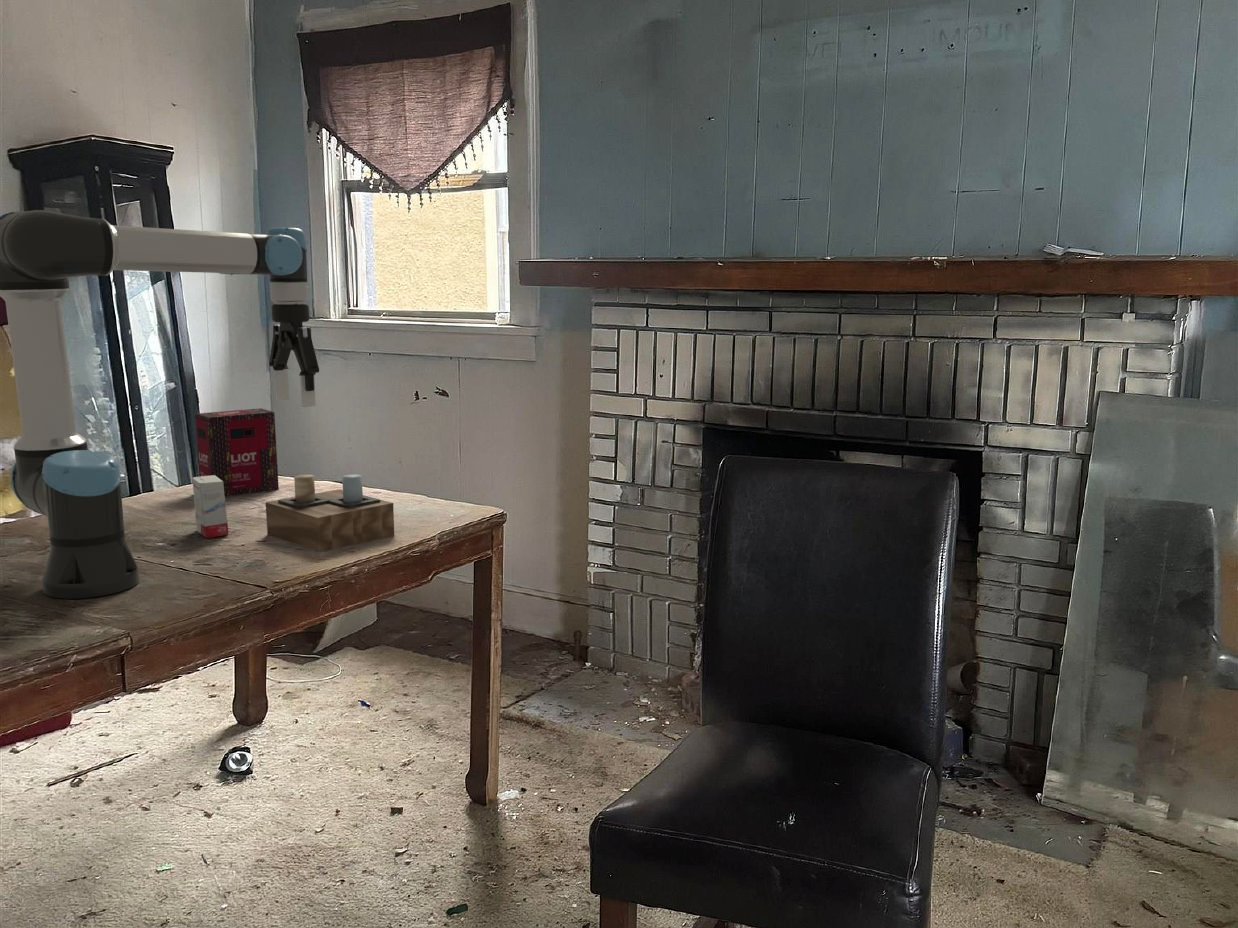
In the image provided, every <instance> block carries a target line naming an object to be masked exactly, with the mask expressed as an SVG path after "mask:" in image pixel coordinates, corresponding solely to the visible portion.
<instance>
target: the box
mask: <svg viewBox="0 0 1238 928" xmlns="http://www.w3.org/2000/svg"><path fill="white" fill-rule="evenodd" d="M194 416H195V417H194V418H195V430H196V431H195V432H196V434H195V435H196V444H197V445H196V447H197V457H198V458H197V459H198V461H197V462H198V470H199V472H198V473H199V476H198V477H201V476H211V475H215V476H217V477H218V478H219V479H220V480H222V481H223V485H224V496H225V498H228V497H235V496H243V495H251V494H258V492H259V493H264V492H263V491H266V492H271V491H272V492H273V491H278V490H279V489H280V488H279V486H280V485H279V470H278V451H277V437H276V419H275V417H276V416H275V411H273V410H269V409H265V408H259V407H258V408H248V409H237V410H222V411H213V412H200V413H194Z"/></svg>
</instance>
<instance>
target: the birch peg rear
mask: <svg viewBox="0 0 1238 928" xmlns="http://www.w3.org/2000/svg"><path fill="white" fill-rule="evenodd" d="M293 479H294V480H293V481H294V497H295V501H296V502H297V503H300V504H302V503H308V502H313V501H315V493H316V486H315V475H313V474H299V475H295V476H294V478H293Z"/></svg>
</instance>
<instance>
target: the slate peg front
mask: <svg viewBox="0 0 1238 928" xmlns="http://www.w3.org/2000/svg"><path fill="white" fill-rule="evenodd" d="M341 478H342V480H341V481H342V482H341V483H342V490H343V502H346V503H355V502H360V501H363V495H364V493H363V475H361V474H346V475H345V474H344V475H343V476H342V477H341Z"/></svg>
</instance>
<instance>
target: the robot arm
mask: <svg viewBox="0 0 1238 928" xmlns="http://www.w3.org/2000/svg"><path fill="white" fill-rule="evenodd" d="M306 243H307V242H306V235H305V232H304V231H303V230H302V229H300V228H298V227H297V228H296V227H270V228H268V229H267V232H266V234H256V233H241V232H226V231H213V230H212V231H210V230H209V231H208V230H194V229H192V230H191V229H180V228H179V229H175V228H160V227H145V226H130V225H129V226H126V225H113V224H111V223H109V222H108V221H107V219H105V218H98V217H97V218H96V217H87V216H86V217H85V216H78V215H72V214H67V213H62V212H57V211H52V210H44V209H39V210H38V209H34V210H33V209H32V210H27V211H21V210H20V211H10V212H7V213H4V214H1V215H0V297H1V298H2V299H3V301H4V302H5V307H6V316H7V323H8V331H9V341H10V348H11V356H12V363H13V364H12V365H13V371H14V380H15V381H14V382H15V388H16V396H17V405H18V410H19V411H18V412H19V418H20V425H21V435H22V436H21V437H20V438H19V440H17V441H16V442H15V444H14V445H13V450H14V458H15V463H14V465H13V467H12V469H11V472H10V485H11V489H12V491H13V493H14V495H15V497H16V498H17V499H18V500H19V501H20V502H21V503H22V505H23V506H25V507H26V508H27V509H29V510H31V511H32V512H34V513H37V514H40V515H42V516H45V517H47V524H48V534H49V543H50V546H49V548H50V549H49V553H48V557H47V560H46V564H45V568H44V571H43V572H44V573H43V574H42V575H43V577H42V591H43V594H44V595H46V596H48V597H51V598H56V599H64V600H65V599H87V598H89V599H90V598H96V597H102V596H103V597H104V596H108V595H113V594H117V593H120V592H123V591H126V590H129V589H131V588H133V587H135V586H136V585H137V584H139V582H140V572H139V571H140V570H139V567H138V564H137V562H136V560H135V559H134V556H133V554H132V552H131V549H130V547H129V546H128V543H127V540H126V535H125V521H124V510H123V509H124V508H123V500H122V499H123V498H122V497H123V496H122V487H121V486H122V485H121V484H122V483H121V481H122V475H121V472H120V469H119V464H118V460H117V459H116V458H115V457H114V456H112V454H111V455H110V454H108V453H107V452H102V451H93V450H90V449H88V440H87V439H86V437H84V436H83V435H81V434H79V433H78V432H77V427H76V426H77V425H76V418H75V409H74V399H73V392H72V385H71V384H72V383H71V375H70V366H69V365H70V364H69V358H68V357H69V356H68V348H67V338H66V332H65V331H66V329H65V323H64V313H63V305H62V300H63V297H65V296H66V295H67V294H68V292H70V282H69V278H77V277H87V276H88V277H89V276H93V277H94V276H95V277H96V276H97V277H100V276H101V277H102V276H103V277H105V276H109V275H110V274H111V273H112V272H113V271H130V272H131V271H135V272H136V271H137V272H139V271H141V272H145V271H146V272H166V273H167V272H172V273H205V274H206V273H208V274H209V273H210V274H211V273H214V274H220V275H230V276H233V275H261V276H262V275H269V288H270V289H269V292H270V294H269V295H270V301H271V302H273V303H272V304H271V319H272V321H273V322H275V323H279V324H273V326H272V330H273V331H272V334H273V335H272V340H271V341H272V342H271V348H270V355H269V362H268V364H269V366H270V367H272V369H273V372H274V373H273V374H274V387H275V400H276V401H288V400H290V388H289V387H290V386H289V366H288V361H289V358H290V355H291V352H292V351H293V353H294V355H295V358H296V361H297V363H298V366H299V369H300V372H299V374H298V375H299V376H300V377H299V378H300V397H301V399H300V400H301V407H302V408H308V407H316V388H315V387H316V386H315V385H316V384H315V376H316V374H317V373H319V372H320V367H319V363H318V359H317V355H316V351H315V346H314V343H313V340H312V333H311V332H312V331H311V328H310V327H309V326H305V327H304V325H303V323H307V322H309V320H310V305H308V304H307V303H306V302H308V301H309V291H310V287H309V285H308V265H307V262H308V261H307V250H308V249H307V244H306Z"/></svg>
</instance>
